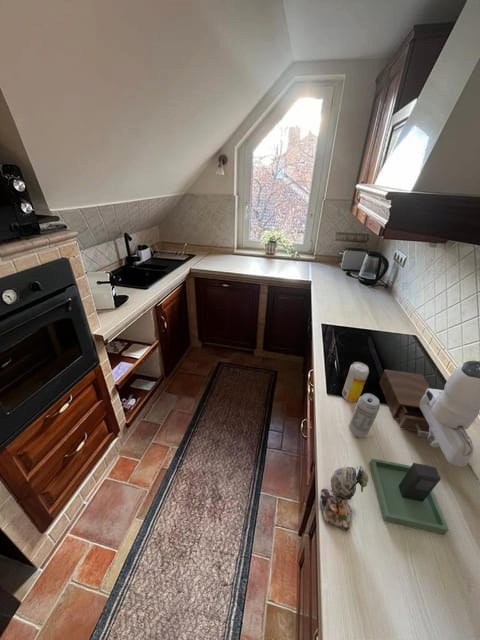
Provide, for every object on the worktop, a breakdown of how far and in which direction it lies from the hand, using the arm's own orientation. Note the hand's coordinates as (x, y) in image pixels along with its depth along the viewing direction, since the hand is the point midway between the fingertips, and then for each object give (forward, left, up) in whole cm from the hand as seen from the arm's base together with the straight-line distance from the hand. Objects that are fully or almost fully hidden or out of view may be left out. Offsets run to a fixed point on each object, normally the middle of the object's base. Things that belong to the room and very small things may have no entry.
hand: (431, 443), depth 77 cm
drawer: (0, -12, -3) cm, 12 cm away
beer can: (+20, -17, -4) cm, 27 cm away
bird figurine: (+30, +22, -4) cm, 37 cm away
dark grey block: (+10, +15, -3) cm, 18 cm away
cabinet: (0, -19, -4) cm, 20 cm away
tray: (+12, +16, -4) cm, 20 cm away
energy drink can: (+20, -2, -4) cm, 21 cm away
